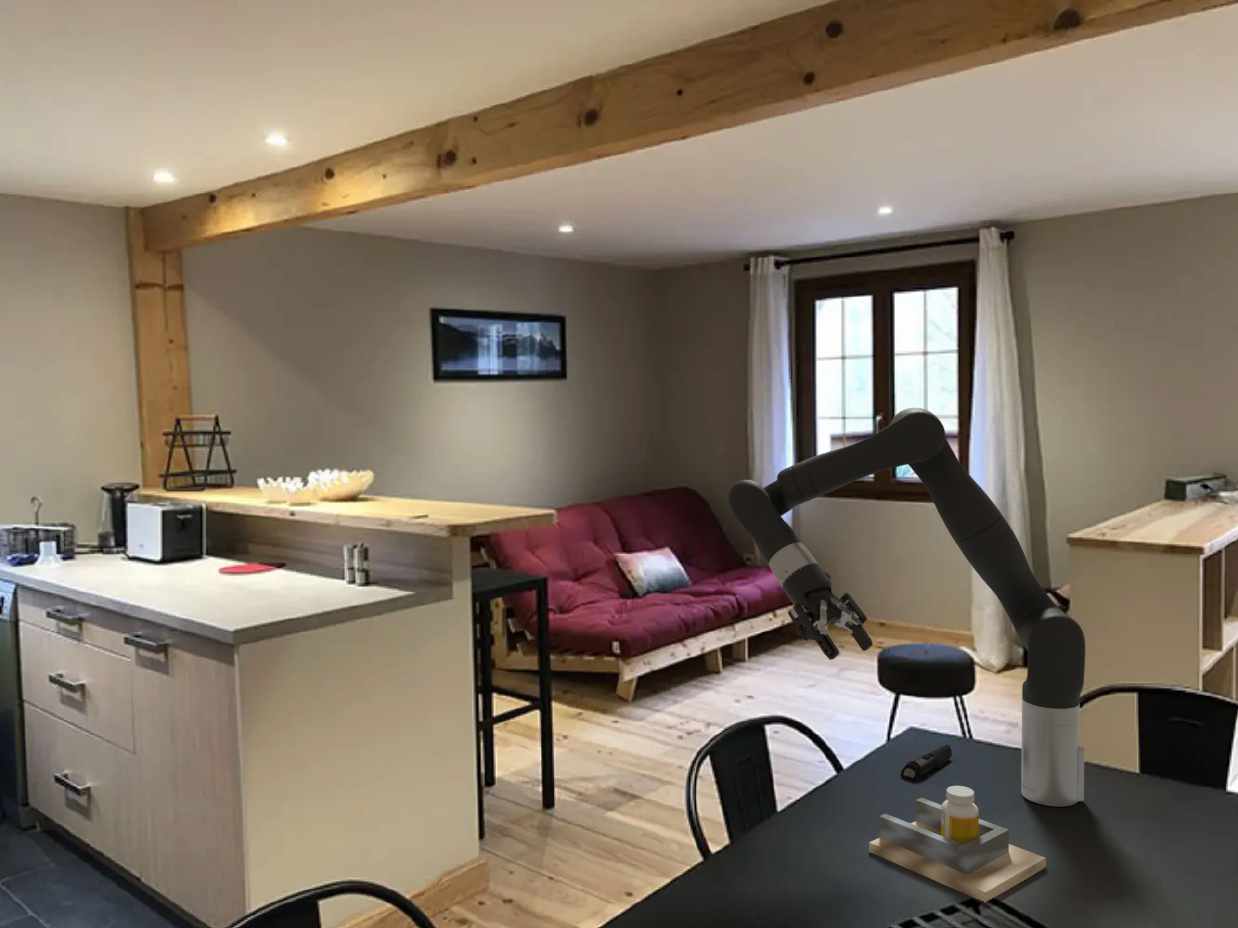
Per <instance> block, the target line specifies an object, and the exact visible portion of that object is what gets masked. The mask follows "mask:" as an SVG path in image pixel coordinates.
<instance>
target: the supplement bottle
mask: <svg viewBox="0 0 1238 928" xmlns="http://www.w3.org/2000/svg"><path fill="white" fill-rule="evenodd" d="M945 792H946V794H945V798H946V799H945V800H944V801H943V802H942V804H941V805H942V807H941V836H943V837H946V838H948V839H951V840H953V841H956V842H958V843H961V844H966V843H968V842H970V841H972V840H974V839H976V838H978V829H979V819H980V818H979V817H980V814H979V813H980V811H979V807H978V805H976V804H975V803H974V802H975V791H974V790H973V789H972V788H970V787H969V786H968V787H967V786H964V785H963V786H962V785H952V786H949V787H947V788H946V791H945Z"/></svg>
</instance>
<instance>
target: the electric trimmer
mask: <svg viewBox="0 0 1238 928" xmlns="http://www.w3.org/2000/svg"><path fill="white" fill-rule="evenodd" d="M952 756H953V751H952V747H951V745H949V744H944V745H942V746H940V747H938V748H937V749H935V750H933V751H930V752H929V753H928V752H927V753H926V754H923V755H922V756H920V757H918V758H916V759H914V760H911V761H909V762H907V763H906V764H905V766H904V767H903V768H902V770H901V772H900V777H901V779H904V780H907V781H910V782H919V781H920V780H921V778H922V776H923V775H925V774H926V773H928V772H930V771H931V770H932V769H939V768H941V767H942V766H944V764H946V763H947V762H948V760H950V759H951V757H952Z"/></svg>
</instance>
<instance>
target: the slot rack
mask: <svg viewBox="0 0 1238 928" xmlns="http://www.w3.org/2000/svg"><path fill="white" fill-rule="evenodd" d="M941 807H942V804H939V803H937V802H934V801H932V800H929V799H926V798H924V797H920V798H918V799H916V800H915V821H913V822H908V821H906V820H905V821H904V820H902V819H900V818H898V817H896V816H892V815H891V814H887V813H884V814H881V815H880V816H879V821H878V822H879V827H878V828H879V829H878V830H879V835H878V836H879V837H878V838H876V839H874V840H871V841H869V843H868V845H869V847H868V848H869V853H871V854H874V855H875V856H879V857H880V858H883V859H885V860H887V861H890V862H892V863H894V864H897V865H898V866H901V867H903V868H905V869H908V870H910V871H912V872H915V873H917V874H919V875H921V876H924V877H926V878H929V879H931V880H933V881H934V882H937V883H940V884H941V885H944V886H947V887H949V888H951V889H953V890H955V891H958V892H959V893H962V894H964V895H967V896H969V897H971V898H972V899H973V898H974V899H976V900H978V899H979V900H978V901H980V900H981V902H983V901H984V902H983V903H985V902H986V903H987V901H988V900H989V901H991V900H993V899H995V898H996V897H998V896H999V895H1001V894H1003V893H1004V892H1007V891H1008V890H1009V889H1012V888H1014V887H1015V886H1017V885H1018V884H1020V883H1021V882H1023V881H1024V880H1027V879H1028V878H1030V877H1032V876H1033V875H1035V874H1037V873H1039V872H1040V871H1042V870H1043V869H1045V868H1046V864H1047V863H1046V861H1047V860H1046V857H1045V856H1041V855H1039V854H1036V853H1034V852H1031V851H1028V850H1026V849H1023V848H1021V847H1018V846H1015V845H1013V844H1010V843H1009V842H1010V830H1009V829H1008V828H1005V827H1002V826H1001V825H1000V826H999V825H997V824H994V823H991V822H989V821H986V820H983V819H981V818H979V829H978V838H976V839H974V840H972V841H970V842H968V843H966V844H961V843H958V842H956V841H953V840H951V839H948V838H946V837H943V836H941ZM992 898H993V899H992ZM990 899H991V900H990ZM989 901H988V902H989Z"/></svg>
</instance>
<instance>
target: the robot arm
mask: <svg viewBox="0 0 1238 928" xmlns="http://www.w3.org/2000/svg"><path fill="white" fill-rule="evenodd" d="M907 465H908V466H909V467H910V469H911V470H912V471H913V473H914V474H915V475H916V476H917V477H918V479H919V480H920V481H921V483H922V484H923V485H924V487H925V490H927V493H929V496H930V498H931V500H932V502H933V505H934V507H935V508H936V510H937V513H938V515H939V517H940V519H941V520H942V522H943V524H944V525H945V527H946V530H947V531H948V533H949V535H950V536H951V538H952V539H953V541H954V542H955V544H956V545H957V547H958V548H959V550H960V551H961V552H962V554H963V556H964V557H965V559H966V560H967V561H968V562H969V564H970V565H971V566H972V568H973V569H974V571H975V573H977V574H978V575H979V577H980V579H981V580H982V581H983V582H984V583H985V584H986V586H987V587H988V588H989V589H991V591H992V592H993V593H994V594H995V596H996V598H997V599H998V600H999V602H1000V604H1001V605H1002V607H1003V609H1004V611H1005V613H1006V614H1007V617H1008V618H1009V620H1010V622H1011V624H1012V626H1013V628H1014V630H1015V632H1016V634H1017V636H1018V638H1019V640H1020V642H1021V644H1022V645H1023V647H1024V648H1025V650H1027V671H1026V672H1027V675H1026V679H1025V680H1024V681H1023V683H1022V686H1021V687H1022V688H1021V689H1022V690H1021V763H1020V765H1021V770H1020V774H1021V778H1020V780H1021V781H1020V785H1021V790H1020V791H1021V793H1020V794H1021V795H1022V796H1023V798H1025V799H1027V800H1029V801H1030V802H1033V803H1036V804H1039V805H1043V806H1049V807H1070V806H1073V805H1076V804H1077V803H1078V802H1084V800H1085V799H1084V798H1085V797H1084V794H1085V789H1084V788H1085V748H1084V747H1083V745H1081V744H1080V707H1081V706H1080V705H1081V704H1080V701H1081V700H1080V699H1081V693H1082V691H1083V689H1084V684H1085V682H1084V681H1085V671H1086V670H1085V667H1086V664H1085V663H1086V639H1085V634H1084V631H1083V629H1082V627H1081V625H1080V624H1079V623H1078V622H1077V621H1076V620H1075V619H1073V618H1072V617H1071V616H1070V615H1069V614H1067V613H1066V612H1064V611H1063V610H1062V609H1061V608H1060V607H1058V605H1057V604H1056V603H1055V601H1053V599H1052V598H1051V597H1050V596H1049V594H1047V592H1046V590H1044V588H1043V587H1042V586H1041V585H1040V583H1039V582H1038V580H1037V578H1036V577H1035V576H1034V573H1033V572H1032V569H1031V567H1030V564H1029V563H1028V560H1027V557H1026V555H1025V552H1024V550H1023V548H1022V545H1021V544H1020V541H1019V540H1018V539H1019V538H1018V537H1017V536H1016V534H1015V532H1014V530H1013V529H1012V528H1011V525H1010V524H1009V522H1008V521H1007V519H1006V518H1005V516H1004V515H1003V514H1002V513H1001V511H1000V509H999V508H998V507H997V506H996V505H997V504H995V503H994V501H992V499H991V498H990V497H989V495H988V493H986V492H985V491H984V489H982V487H981V486H980V485H979V484H978V483H977V482H976V481H975V479H973V476H972V475H970V474H969V473H968V472H967V470H966V469H965V467H964V466H963V465H962V463H961V462H960V460H959V459H958V457H957V456H956V454H955V452H954V450H953V449H952V446H951V445H950V442H949V441H948V439H947V437H946V431H945V427H944V425H943V423H942V421H941V420H940V419H939V417H938V416H937V415H936V414H934V413H932V412H931V411H929V410H928V409H925V408H922V407H921V408H920V407H909V408H905V409H903V410H901V411H899V412H897V413H896V415H895V416H893V418H892V419H891V422H890V423H889V425H888V426H886V427H884V428H882V429H881V430H879V431H878V432H876V433H874V434H873V435H870V436H868V437H866V438H864V439H862V440H860V441H857V442H855V443H852V444H849V445H846V446H843V447H840V448H836V449H833V450H829V451H827V452H824V453H823V452H822V453H819V454H818V455H815V456H811V457H810V458H807V459H805V460H803V461H800V462H797V463H795V464H793V465H791V466H788V467H786V468H784V469H782V470H780V471H779V472H778V473H777V476H776V480H775V481H772V482H771V483H769V484H768V485H766V486H764V487H763V486H762V485H761V484H760V483H759V482H757V481H755V480H751V479H742V480H739V481H737V482H736V483H734V484H733V485H732V486H731V488H729V492H728V494H727V502H728V506H729V509H730V511H731V512H732V514H733V515H734V516H735V518H736V519H737V520H738V522H739V523H740V525H741V526H742V527H743V528H744V530H745V531H746V532H747V533H748V534H749V536H750V537H751V539H752V540H753V541H754V544H755V545H756V548H757V549H758V551H759V553H760V555H762V556H763V559H764V560H765V561H766V563H767V564H768V566H769V568H770V570H771V572H772V574H773V575H774V577H775V579H776V581H777V583H778V584H779V585H780V586H781V588H782V590H783V592H784V593H785V594H786V596H787V598H788V599H789V600H790V602H791V603H792V605H793V606H792V607H791V608H790V609H789V611H788V612H787V613H788V614H787V615H788V617H790V620H791V621H792V623H793V625H794V626H795V628H796V630H797V632H798V633H799V634H800V636H801V638H802V640H803V641H806V642H808V641H809V640H812V641H813V642H814V643H817V645H818V647H819V649H820V650H821V651H822V653H823V654H824V655H825V656H826V658H828V660H829V661H831V660H834V659H837V657H838V656H839V655H840V650H839V648H838V647H837V646H836V644H835V643H834V641H833V639H832V638H831V637H830V635H829V633H826V632H827V630H826V626H833V625H836V626H837V627H839V628H844V629H845V630H846V631H848V632H850V633H851V636H852V638H853V639H854V640H855V641H856V643H857V645H858V646H859V648H860V649H861V651H864V652H866V651H868V650H869V649H871V647H872V646H873V640H872V638H871V637H870V636H869V634H868V633H867V631H866V630H865V628H864V627H863V625H864V624H865V622H867V621H868V617H867V616H866V614H865V613H864V611H862V609H861V608H860V607H859V604H857V603H856V601H855V600H854V599H853V597H852V595H850V593H848V592H844V593H843V595H841V596H839V597H838V596H837V595H836V594H834V593H833V592H832V591H833V590H832V587H833V586H832V582H831V580H830V579H829V577H828V575H827V574H826V572H824V570H823V569H822V567H821V566H820V563H818V561H817V560H816V559H815V557H814V556H813V555H812V553H811V552H810V550H808V548H807V547H806V546H805V545H804V544H803V542H802V541H801V539H800V538H799V537H798V536H797V534H796V533H795V531H794V530H793V529H792V527H791V526H790V525H789V523H788V522H787V521H785V519H784V518H783V516H784V515H785V514H787V513H788V512H790V511H791V510H793V509H794V508H795V507H797V506H798V505H801V504H804V503H807V502H809V501H811V500H815V499H816V498H817V499H818V498H819V497H822V496H823V495H827V494H828V493H831V492H833V491H836V490H838V489H840V488H842V487H844V486H846V485H847V486H848V485H849V484H851V483H853V482H856V481H859V480H861V479H864V478H866V477H869V476H871V475H874V474H877V473H880V472H883V471H887V470H890V469H894V468H898V467H903V466H907ZM842 614H843V616H842ZM855 615H856V616H857V617H856V616H855ZM848 621H849V622H850V623H851V624H850V623H849V622H848ZM805 627H806V628H805Z"/></svg>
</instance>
